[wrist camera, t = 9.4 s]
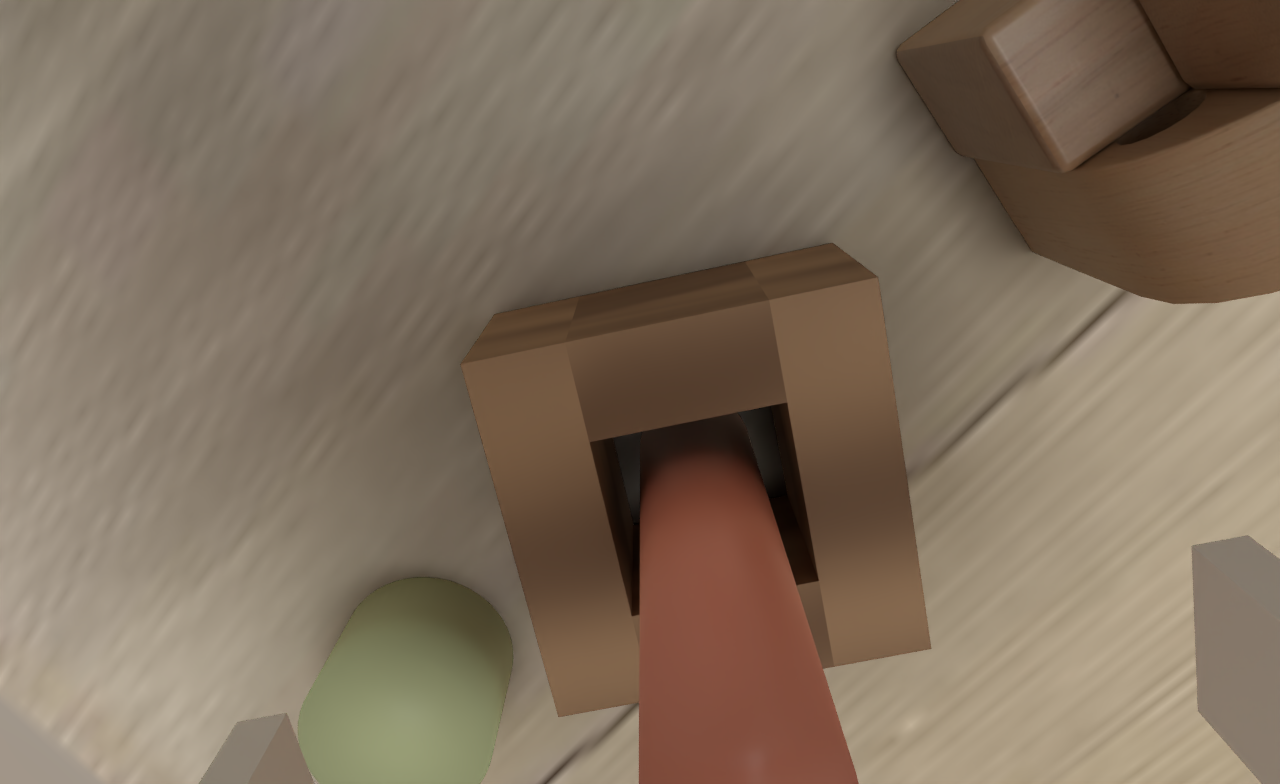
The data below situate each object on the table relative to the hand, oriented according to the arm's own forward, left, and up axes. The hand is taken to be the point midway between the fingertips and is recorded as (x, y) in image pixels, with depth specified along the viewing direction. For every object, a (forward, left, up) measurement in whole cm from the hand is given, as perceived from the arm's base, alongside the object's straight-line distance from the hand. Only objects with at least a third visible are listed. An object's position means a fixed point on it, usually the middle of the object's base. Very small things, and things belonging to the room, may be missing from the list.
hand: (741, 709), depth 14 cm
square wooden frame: (0, 0, -13) cm, 13 cm away
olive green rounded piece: (+5, -9, -13) cm, 17 cm away
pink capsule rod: (+1, 0, -13) cm, 13 cm away
